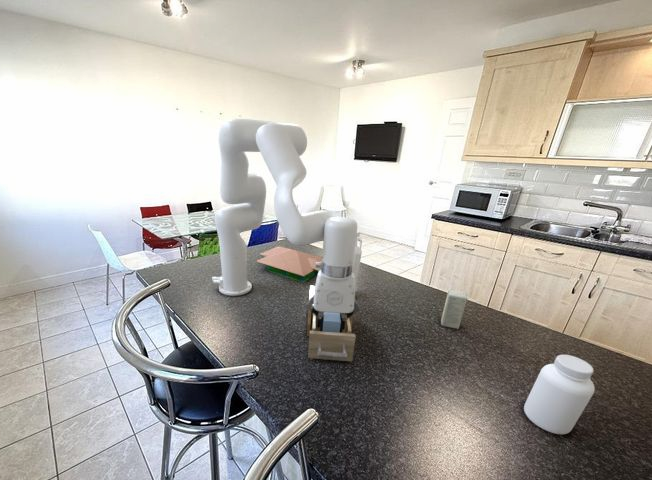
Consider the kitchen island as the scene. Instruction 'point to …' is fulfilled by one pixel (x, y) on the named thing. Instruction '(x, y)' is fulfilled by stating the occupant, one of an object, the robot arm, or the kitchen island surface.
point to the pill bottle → (560, 394)
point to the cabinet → (310, 313)
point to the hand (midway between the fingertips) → (330, 329)
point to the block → (331, 322)
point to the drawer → (331, 343)
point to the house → (290, 261)
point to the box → (453, 309)
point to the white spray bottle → (357, 258)
